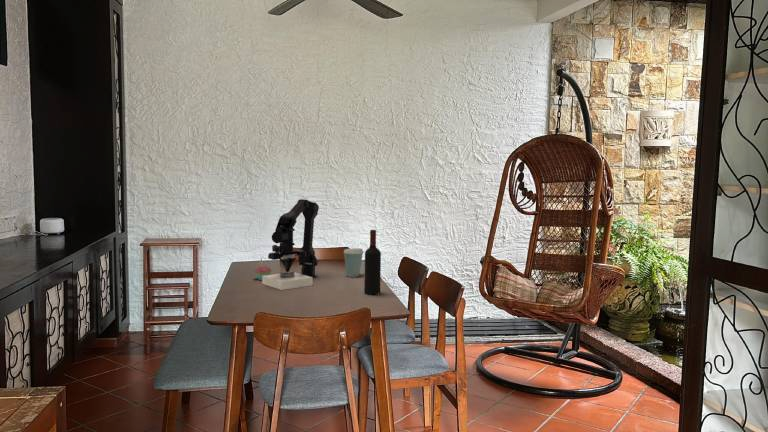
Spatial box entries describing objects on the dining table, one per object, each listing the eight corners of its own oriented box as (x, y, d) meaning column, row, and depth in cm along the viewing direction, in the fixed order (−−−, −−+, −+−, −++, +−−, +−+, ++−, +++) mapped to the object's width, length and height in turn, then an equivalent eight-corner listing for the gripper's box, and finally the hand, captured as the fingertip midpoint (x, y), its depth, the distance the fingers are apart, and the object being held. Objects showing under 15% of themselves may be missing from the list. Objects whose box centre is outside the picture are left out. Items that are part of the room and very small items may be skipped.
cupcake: (267, 281, 321) (267, 258, 320) (251, 280, 322) (251, 257, 321) (273, 278, 329) (273, 255, 328) (258, 277, 331) (258, 254, 330)
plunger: (289, 282, 318) (289, 270, 318) (297, 284, 313) (297, 272, 313) (277, 284, 314) (277, 272, 313) (285, 286, 309) (285, 274, 308)
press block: (292, 279, 326) (292, 271, 326) (312, 285, 313) (312, 277, 312) (262, 283, 314) (262, 275, 314) (281, 290, 301) (281, 281, 300)
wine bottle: (368, 295, 291) (369, 231, 288) (361, 292, 298) (362, 229, 295) (383, 294, 295) (384, 230, 292) (375, 291, 301) (376, 228, 298)
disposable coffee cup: (339, 276, 335) (340, 249, 334) (348, 273, 345) (348, 246, 343) (358, 278, 331) (358, 250, 330) (366, 275, 341) (366, 247, 340)
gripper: (294, 237, 323) (294, 267, 325) (262, 240, 311) (262, 271, 313) (306, 240, 315) (306, 270, 317) (274, 243, 303) (274, 275, 304)
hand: (287, 271), depth 313 cm, fingers closed
